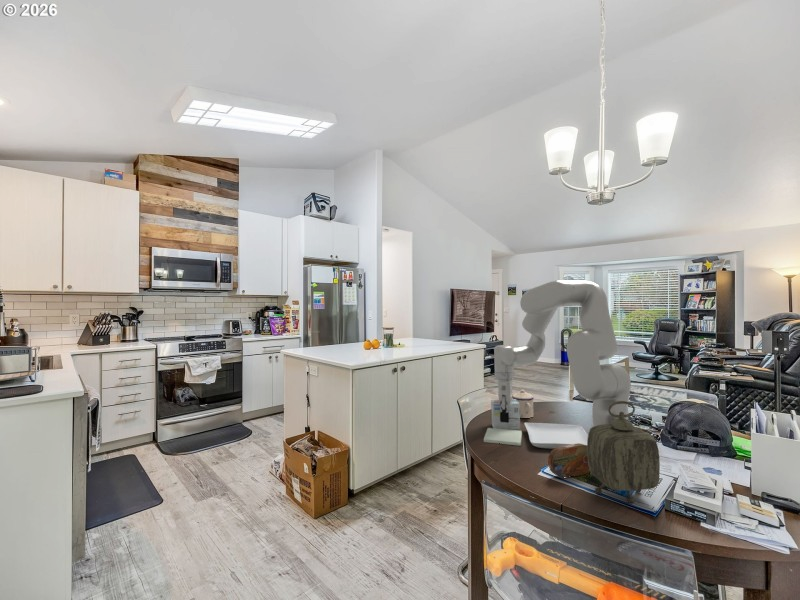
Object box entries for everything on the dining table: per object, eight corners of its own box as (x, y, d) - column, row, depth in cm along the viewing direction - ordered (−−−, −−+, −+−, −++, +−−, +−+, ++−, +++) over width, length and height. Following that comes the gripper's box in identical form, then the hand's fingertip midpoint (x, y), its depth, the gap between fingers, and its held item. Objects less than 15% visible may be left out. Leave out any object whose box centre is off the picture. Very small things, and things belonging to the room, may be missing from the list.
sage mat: (520, 445, 133) (520, 442, 133) (483, 441, 138) (483, 439, 138) (521, 433, 146) (521, 430, 146) (487, 430, 150) (487, 427, 150)
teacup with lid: (509, 413, 171) (508, 388, 171) (528, 412, 172) (527, 387, 172) (520, 422, 159) (519, 394, 159) (540, 420, 160) (540, 393, 160)
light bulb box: (517, 424, 156) (516, 398, 156) (520, 430, 149) (520, 403, 149) (491, 424, 157) (490, 398, 157) (493, 430, 150) (492, 403, 150)
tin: (554, 480, 107) (552, 451, 107) (546, 476, 110) (545, 447, 110) (596, 472, 111) (595, 443, 111) (588, 468, 114) (587, 440, 114)
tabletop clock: (640, 488, 102) (637, 396, 102) (665, 507, 92) (662, 405, 93) (587, 491, 101) (585, 398, 101) (607, 509, 92) (604, 407, 92)
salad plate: (598, 455, 125) (597, 445, 125) (531, 451, 129) (530, 441, 129) (580, 433, 145) (580, 424, 146) (523, 430, 150) (523, 422, 150)
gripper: (512, 380, 144) (513, 426, 144) (514, 372, 160) (515, 413, 160) (492, 379, 146) (493, 424, 146) (496, 371, 163) (497, 412, 163)
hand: (505, 418), depth 153 cm, fingers closed on light bulb box, 7 cm apart
